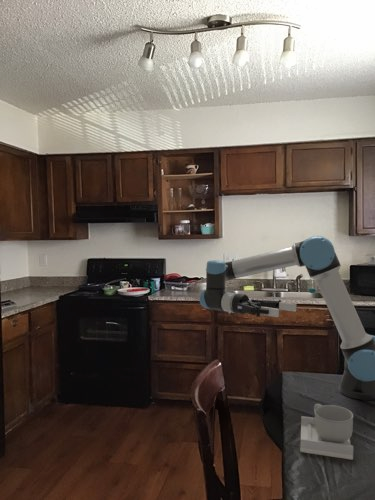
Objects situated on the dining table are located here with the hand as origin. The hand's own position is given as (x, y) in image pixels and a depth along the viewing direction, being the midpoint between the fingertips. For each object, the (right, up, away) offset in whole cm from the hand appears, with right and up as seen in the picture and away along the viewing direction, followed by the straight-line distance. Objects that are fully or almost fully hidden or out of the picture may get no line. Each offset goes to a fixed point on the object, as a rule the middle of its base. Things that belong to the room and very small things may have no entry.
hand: (287, 310), depth 149 cm
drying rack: (+6, -36, -22) cm, 43 cm away
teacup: (+7, -34, -22) cm, 42 cm away
